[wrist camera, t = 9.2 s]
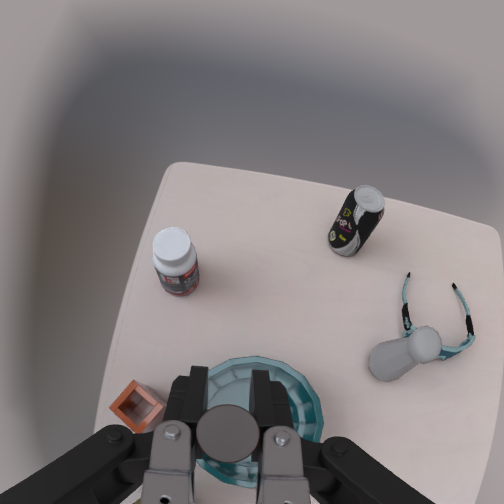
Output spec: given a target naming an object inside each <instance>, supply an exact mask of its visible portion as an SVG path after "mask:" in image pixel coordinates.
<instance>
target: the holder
mask: <svg viewBox="0 0 504 504" xmlns="http://www.w3.org/2000/svg"><path fill="white" fill-rule="evenodd" d="M166 406H167V403H166V402H165V401H164V400H163V399H161V398H160V397H159V396H158V395H157V394H156V393H154V392H153V391H152V390H151V389H150V388H149V387H148V386H146V385H143V384H141V383H139V382H137V381H135V380H133V381H132V382H131V383H130V384H129V385H128V386H127V387H126V389H125V390H124V391H123V392H122V393H121V394H120V395H119V397H118V398H117V399H116V400H115V401H114V402H113V403H112V405H111V406H110V407H109V409H110V410H111V411H113V412H114V413H115V414H116V415H117V416H118V417H119V418H120V419H121V420H122V421H123V422H124V423H125V424H126V425H127V426H128V427H130V428H131V429H132V430H133V431H134V432H135V433H136V434H137V433H147V432H151V431H153V430H155V428H156V426H157V425H158V424H160V423H161V422H162V421H163V417H164V413H165V410H166Z"/></svg>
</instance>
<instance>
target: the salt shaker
mask: <svg viewBox="0 0 504 504" xmlns="http://www.w3.org/2000/svg"><path fill="white" fill-rule="evenodd" d="M441 348H442V343H441V338H440V336H439V333H438V332H437V331H436V330H435V329H434V328H432V327H429V326H424V327H421V328H417V329H416V330H415V331H414V332H413V333H412V334H411V335H410V336H409V337H406V338H401V339H396V340H391V341H386V342H383V343H380V344H379V345H377V346H376V347H375V348H374V349H373V350H372V353H371V355H370V364H369V369H370V370H371V372H372V373H373V375H374V376H375V377H376V378H377V379H379V380H382V381H387V382H390V381H393V380H396V379H398V378H400V377H401V376H402V375H404V374H405V373H406V372H408V371H409V370H411V369H412V368H413V367H415V366H416V365H417V364H419V363H422V364H425V363H428V362H431V361H433V360H435V359H436V358H437V356H438V355H439V354H440V351H441Z"/></svg>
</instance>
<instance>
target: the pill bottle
mask: <svg viewBox="0 0 504 504" xmlns="http://www.w3.org/2000/svg"><path fill="white" fill-rule="evenodd" d="M153 263H154V266H155V269H156V271H157V274H158V277H159V279H160V282H161V284H162V286H163V288H164V289H165V290H166V291H167V292H168V293H170V294H172V295H175V296H183V295H187V294H189V293H190V292H192V291H193V290H194V289H195V288H196V286H197V284H198V282H199V269H198V262H197V254H196V250H195V247H194V245H193V244H192V243H191V239H190V237H189V235H188V233H187V232H186V231H184V230H183V229H181V228H178V227H169V228H166V229H163V230H162V231H160V232H159V233H158V234H157V235H156V236H155V238H154V240H153Z"/></svg>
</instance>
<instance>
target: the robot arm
mask: <svg viewBox="0 0 504 504" xmlns="http://www.w3.org/2000/svg"><path fill="white" fill-rule="evenodd" d="M207 406H208V367H203V366H192V367H191V371H190V376H180V375H179V376H178V377H177V378H176V379H175V380H174V381H173V383H172V387H171V392H170V394H169V398H168V402H167V406H166V410H165V413H164V417H163V421H162V422H161V423H160V424H158V425H157V426H156V428H155V430H153V431H151V432H147V433H137V434H133V433H132V431H131V430H130V429H128V428H127V427H125V426H122V425H108V426H106V427H104V428H102V429H101V430H99V431H98V432H97V433H95V434H94V435H92V436H91V437H90V438H88V439H86V440H85V441H83V442H82V443H80V444H79V445H77V446H76V447H74V448H73V449H71V450H70V451H68V452H67V453H65V454H64V455H63V456H61V457H59V458H58V459H56V460H55V461H53V462H52V463H50V464H48V465H47V466H45V467H44V468H42V469H41V470H39V471H37V472H36V473H34V474H33V475H31V476H29V477H28V478H27V479H25V480H23V481H21V482H20V483H18V484H16V485H15V486H13V487H11V488H10V489H8V490H6V491H5V492H3V493H2V494H0V504H120V503H121V502H122V501H123V500H125V499H126V498H127V497H128V496H129V495H130V494H132V493H133V492H134V491H135V490H136V489H137V488H138V487H140V486H141V485H142V483H143V487H142V495H141V503H140V504H194V470H195V465H196V459H202V454H203V451H202V449H201V448H200V446H199V444H198V442H197V438H196V428H197V424H198V422H199V420H200V418H201V417H202V415H203V414H204V413H205V412H206V411H207ZM249 412H250V413H251V414H252V415H253V416H254V418H255V419H256V421H257V423H258V425H259V429H260V439H259V443H258V446H257V448H256V449H255V451H254V452H253V453H252V454H251V462H258V473H257V484H256V504H311V502H310V494H311V495H312V496H313V497H314V498H315V499H316V500H317V501H318V502H319V503H320V504H435V503H434V502H432V501H431V500H429V499H428V498H426V497H425V496H424V495H422V494H421V493H419V492H418V491H417V490H415V489H414V488H412V487H411V486H410V485H408V484H407V483H406V482H404V481H403V480H401V479H400V478H399V477H397V476H396V475H395V474H393V473H392V472H391V471H389V470H388V469H387V468H386V467H384V466H383V465H382V464H380V463H379V462H378V461H376V460H375V459H374V458H373V457H371V456H370V455H369V454H367V453H366V452H365V451H364V450H362V449H361V448H360V447H359V446H357V445H356V444H355V443H354V442H352V441H351V440H349V439H347V438H345V437H331V438H328V439H327V440H325V441H324V442H323V443H317V442H312V441H308V440H306V439H304V438H302V437H300V435H299V434H298V432H297V431H295V429H294V425H293V420H292V415H291V410H290V405H289V400H288V395H287V390H286V388H285V386H284V385H283V384H282V383H281V382H280V381H270V375H269V370H254V369H252V373H251V383H250V393H249Z"/></svg>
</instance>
